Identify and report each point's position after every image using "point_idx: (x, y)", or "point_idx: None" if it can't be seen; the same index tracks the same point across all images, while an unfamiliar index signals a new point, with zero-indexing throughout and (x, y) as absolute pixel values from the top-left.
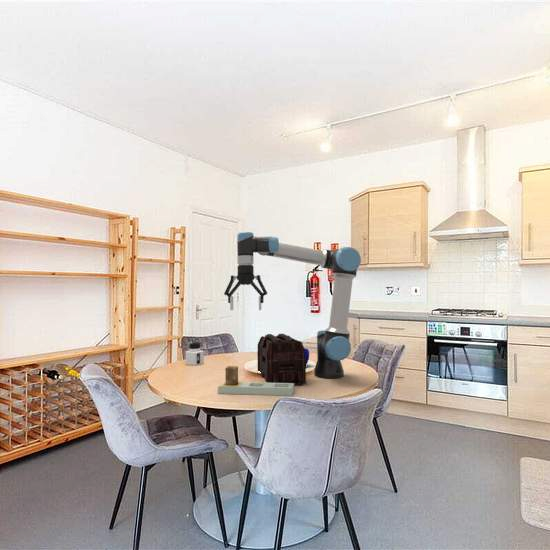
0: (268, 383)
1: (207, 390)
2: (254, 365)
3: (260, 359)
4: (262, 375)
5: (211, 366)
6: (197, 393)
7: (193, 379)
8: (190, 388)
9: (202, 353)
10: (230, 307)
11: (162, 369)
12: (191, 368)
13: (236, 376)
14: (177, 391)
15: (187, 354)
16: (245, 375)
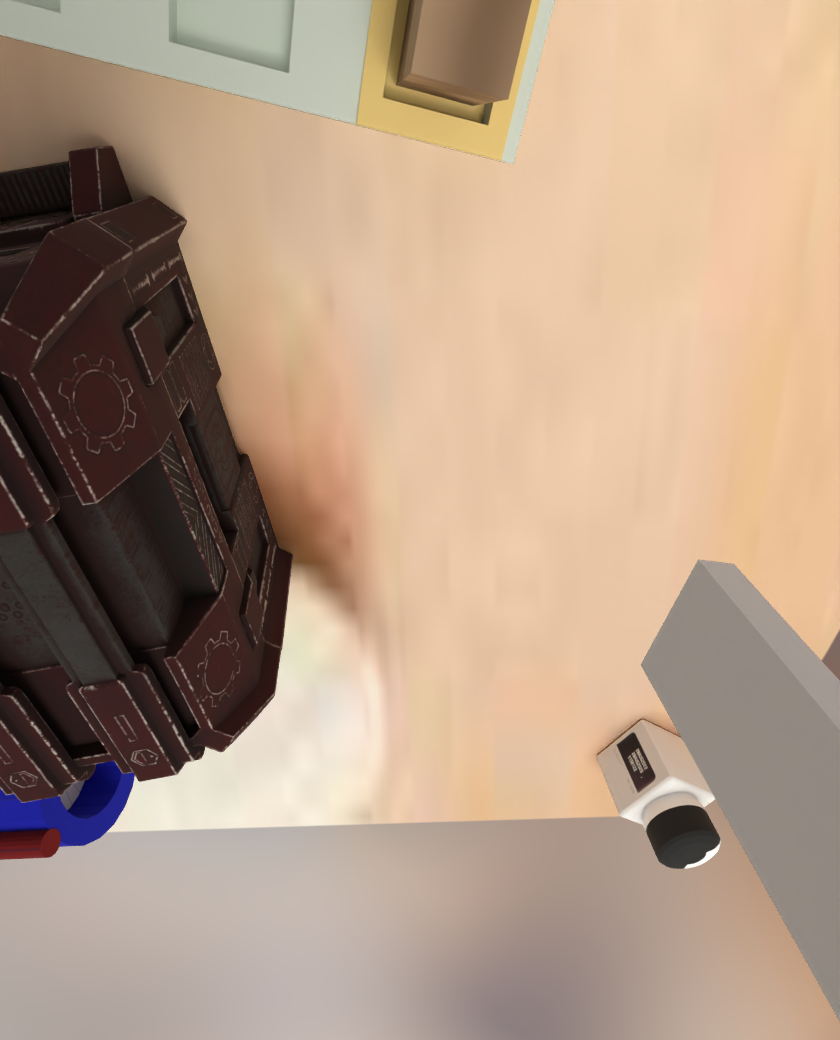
0: (129, 28)
1: (617, 101)
2: (329, 725)
3: (260, 591)
4: (248, 467)
5: (559, 705)
6: (696, 4)
7: (678, 432)
8: (724, 183)
9: (621, 798)
10: (771, 613)
11: None
12: None
13: (415, 4)
14: (821, 96)
15: (701, 780)
16: (365, 513)
